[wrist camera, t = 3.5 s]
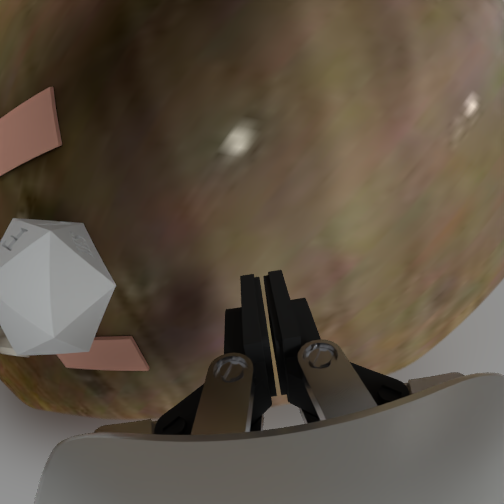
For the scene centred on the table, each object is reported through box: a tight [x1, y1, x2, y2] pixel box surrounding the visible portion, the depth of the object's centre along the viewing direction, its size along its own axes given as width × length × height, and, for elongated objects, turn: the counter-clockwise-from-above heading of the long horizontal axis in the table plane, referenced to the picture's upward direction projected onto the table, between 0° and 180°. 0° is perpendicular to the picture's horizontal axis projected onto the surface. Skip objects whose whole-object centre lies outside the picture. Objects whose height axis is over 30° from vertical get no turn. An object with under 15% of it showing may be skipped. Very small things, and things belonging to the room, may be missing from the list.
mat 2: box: [57, 336, 150, 371], centre depth 21 cm, size 10×4×1 cm, turn 98°
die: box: [0, 218, 116, 355], centre depth 13 cm, size 8×9×10 cm
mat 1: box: [0, 87, 62, 176], centre depth 12 cm, size 10×4×1 cm, turn 98°
